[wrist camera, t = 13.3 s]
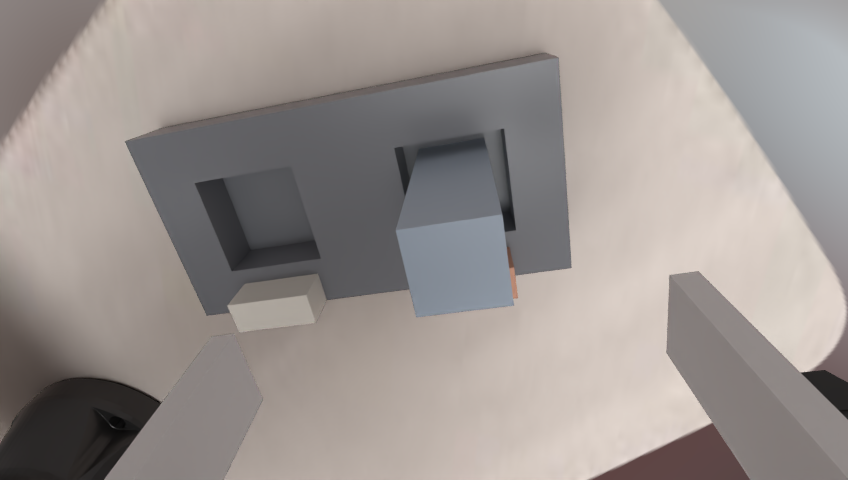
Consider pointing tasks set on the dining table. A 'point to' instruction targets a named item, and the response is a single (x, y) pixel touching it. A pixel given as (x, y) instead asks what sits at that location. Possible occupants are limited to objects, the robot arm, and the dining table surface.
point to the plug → (454, 232)
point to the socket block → (350, 186)
